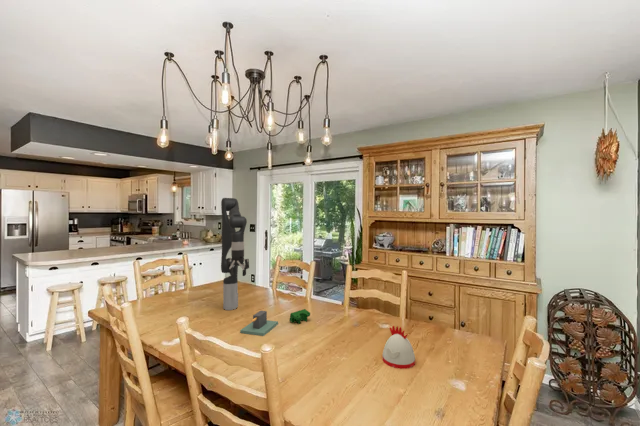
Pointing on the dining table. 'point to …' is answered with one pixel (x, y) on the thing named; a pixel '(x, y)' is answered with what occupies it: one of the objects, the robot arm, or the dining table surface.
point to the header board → (261, 331)
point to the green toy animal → (299, 316)
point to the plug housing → (259, 319)
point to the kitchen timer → (398, 350)
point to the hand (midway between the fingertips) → (237, 275)
